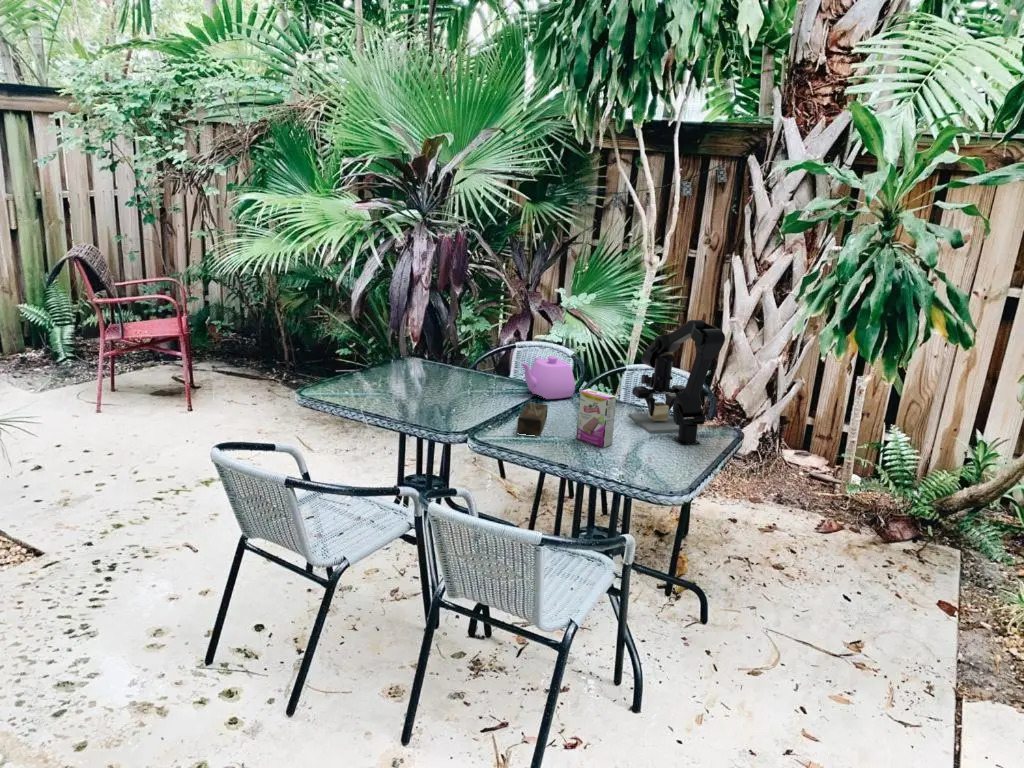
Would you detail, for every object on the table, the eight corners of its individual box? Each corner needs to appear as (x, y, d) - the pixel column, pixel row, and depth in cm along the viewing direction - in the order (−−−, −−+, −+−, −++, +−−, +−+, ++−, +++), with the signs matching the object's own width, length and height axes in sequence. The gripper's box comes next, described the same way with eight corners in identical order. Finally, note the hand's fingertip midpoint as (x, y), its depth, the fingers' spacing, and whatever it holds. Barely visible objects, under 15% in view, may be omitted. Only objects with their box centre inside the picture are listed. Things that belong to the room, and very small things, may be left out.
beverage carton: (547, 420, 261) (548, 402, 259) (540, 439, 243) (541, 419, 241) (524, 418, 262) (525, 400, 260) (515, 436, 244) (516, 417, 242)
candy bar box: (575, 439, 243) (578, 390, 239) (584, 436, 247) (588, 387, 242) (603, 449, 236) (607, 398, 232) (612, 445, 240) (617, 395, 235)
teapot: (552, 384, 305) (554, 348, 301) (580, 399, 287) (583, 360, 283) (501, 389, 294) (503, 352, 290) (528, 405, 276) (530, 365, 272)
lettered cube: (667, 420, 260) (669, 406, 259) (654, 420, 259) (655, 406, 258) (661, 415, 265) (662, 401, 264) (648, 416, 264) (649, 402, 262)
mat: (687, 431, 256) (687, 428, 256) (649, 433, 253) (649, 430, 252) (664, 414, 273) (664, 412, 273) (628, 416, 269) (628, 413, 269)
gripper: (677, 365, 267) (672, 407, 272) (628, 366, 263) (624, 409, 267) (691, 373, 257) (686, 417, 261) (641, 374, 252) (636, 419, 257)
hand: (658, 415), depth 262 cm, fingers closed on lettered cube, 5 cm apart
